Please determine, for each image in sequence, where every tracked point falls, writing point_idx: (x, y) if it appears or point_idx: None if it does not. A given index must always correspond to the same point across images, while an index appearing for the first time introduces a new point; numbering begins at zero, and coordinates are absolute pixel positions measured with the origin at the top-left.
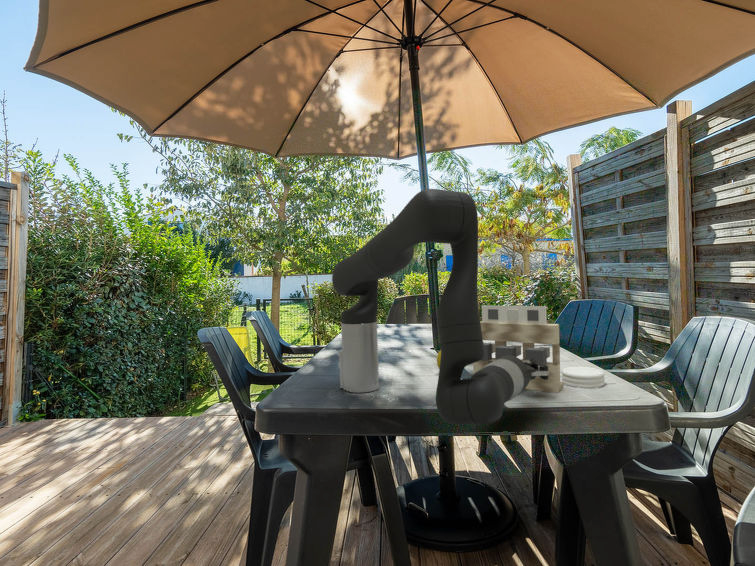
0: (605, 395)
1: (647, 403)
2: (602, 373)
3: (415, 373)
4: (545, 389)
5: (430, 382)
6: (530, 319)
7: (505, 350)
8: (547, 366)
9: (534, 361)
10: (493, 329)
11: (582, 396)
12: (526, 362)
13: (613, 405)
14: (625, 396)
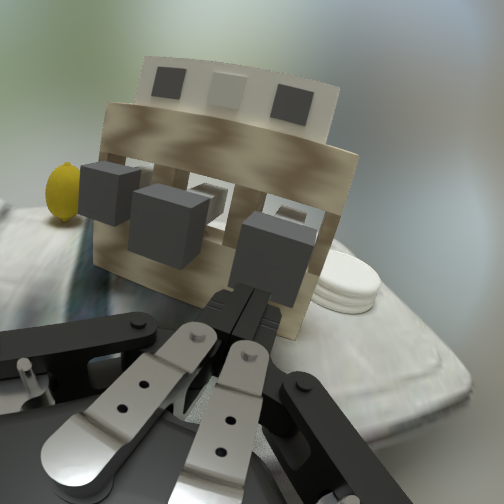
0: (391, 351)
1: (461, 384)
2: (380, 281)
3: (14, 211)
4: None
5: (6, 248)
6: (280, 115)
7: (164, 209)
8: (409, 501)
9: (302, 388)
10: (157, 127)
11: (352, 361)
12: (250, 455)
13: (424, 410)
14: (421, 353)
